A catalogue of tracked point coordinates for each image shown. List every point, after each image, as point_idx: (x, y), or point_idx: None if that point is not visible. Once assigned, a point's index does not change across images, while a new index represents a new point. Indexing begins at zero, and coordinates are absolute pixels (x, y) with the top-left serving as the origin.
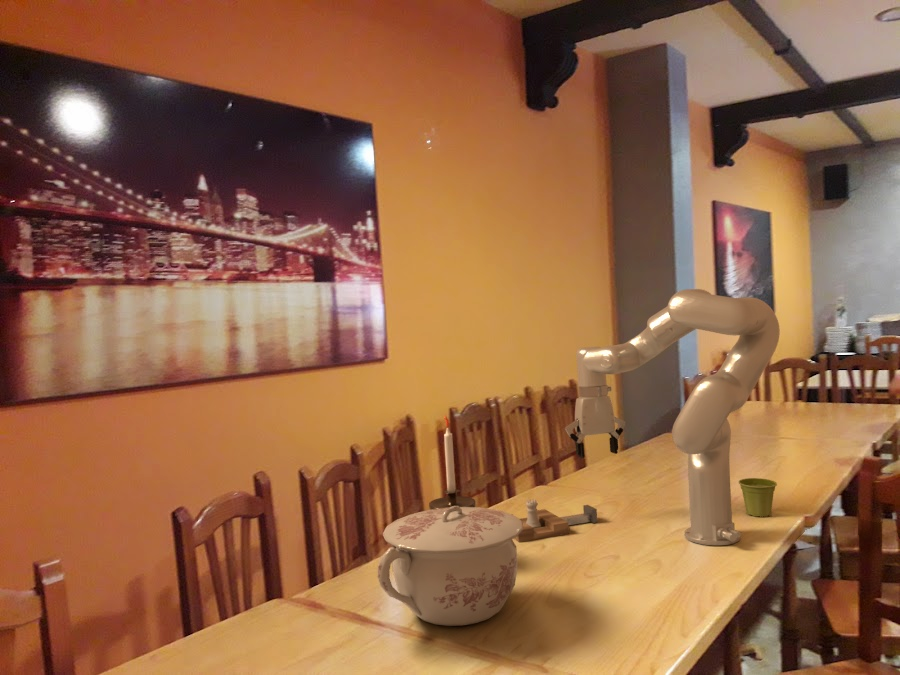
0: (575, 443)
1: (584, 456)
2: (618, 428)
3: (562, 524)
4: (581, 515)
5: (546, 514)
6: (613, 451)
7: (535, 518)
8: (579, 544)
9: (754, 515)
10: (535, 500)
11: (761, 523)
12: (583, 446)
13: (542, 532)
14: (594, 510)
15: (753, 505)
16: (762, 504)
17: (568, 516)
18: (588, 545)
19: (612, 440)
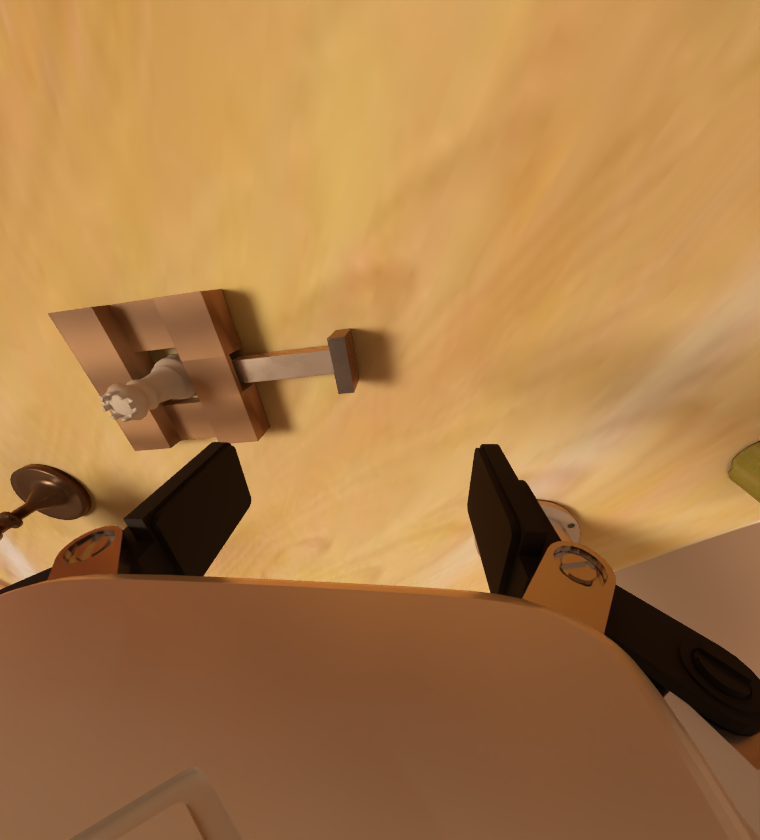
0: (123, 531)
1: (249, 505)
2: (690, 735)
3: (244, 441)
4: (315, 366)
5: (204, 355)
6: (472, 497)
7: (169, 399)
8: (279, 485)
9: (730, 476)
10: (130, 408)
11: (685, 508)
12: (207, 566)
13: (201, 436)
14: (347, 391)
15: (754, 495)
16: None
17: (276, 361)
18: (295, 494)
19: (495, 572)
